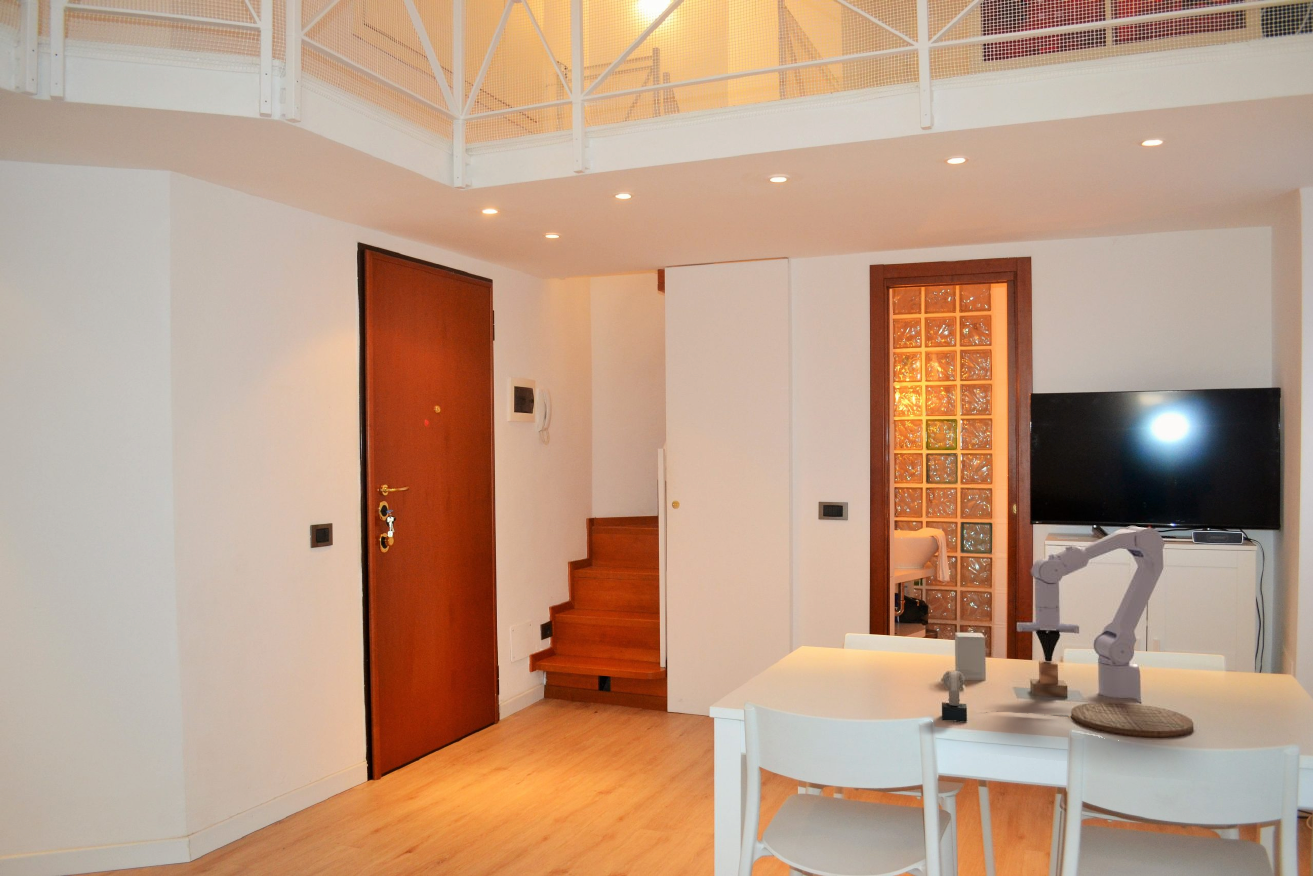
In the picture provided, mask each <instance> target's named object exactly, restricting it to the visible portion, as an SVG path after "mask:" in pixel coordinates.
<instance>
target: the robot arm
mask: <svg viewBox="0 0 1313 876" xmlns="http://www.w3.org/2000/svg"><path fill="white" fill-rule="evenodd" d="M1165 545H1166V543H1165V541H1164V539H1163V538H1162V536H1161V533H1160V532H1159V531H1157V529H1154V528H1152V527H1138V526H1136V525H1130V526H1126V527H1125V528H1121V529H1118V530H1116V531H1114V532H1112V533H1110V534H1108V535H1106V536H1103V537H1102V538H1100V539H1097V540H1096V541H1093V542H1092V543H1090V544H1087V545H1086V546H1084V547H1080V546H1077V545H1074V546H1073V545H1067V546H1065V547H1064V550H1061V551H1060V552H1057V553H1055V554H1053V553H1051V554H1049V555H1048V558H1047V559H1046V558H1039V559H1037V560H1036V561H1034V563H1033V565H1032V566H1031V569H1030V573H1031V576H1032V577H1033V578H1034V607H1035V608H1034V609H1035V616H1034V617H1035V622H1016V631H1017V632H1035V634H1036V636H1037V638H1038V640H1039V643H1040V645H1041V648H1042V650H1043V651H1042V652H1043V656H1044V661H1053V655H1054V651H1055V650H1056V649H1055V648H1056V646H1057V644H1058V643H1059V642H1058V641H1059V640H1060V637H1061V634H1060V633H1069V634H1071V633H1072V634H1079V635H1080V625H1078V624H1073V623H1070V624H1069V623H1061V621H1060V620H1061V619H1060V618H1061V617H1060V616H1061V615H1060V614H1061V613H1060V581H1061V580H1062V579H1063V577H1065V576H1067V575H1071V573H1075V572H1077V571H1079V570H1081V569H1083V568H1085V567H1087V566H1088V564H1089V561H1090V560H1091V559H1094V558H1097V557H1100V556H1102V555H1105V554H1107V553H1109V552H1113V551H1115V550H1118V549H1119V550H1120V549H1123V550H1127V551H1128V552H1129V554H1130V555H1132V557H1133V559H1134V562H1135V563H1136V565H1137V567H1136V570H1135V571H1134V575H1133V576H1132V579H1131V581H1130V583H1129V585H1128V587H1127V589H1126V591H1125V593H1124V595H1123V598H1122V600H1121V602H1120V604H1119V606H1118V609H1117V611H1116V612H1115V615H1114V617H1113V619H1112V620H1111V622H1110V623H1108V624H1107V625H1106V626H1105V627H1103V630H1102V632H1100V633H1099V634H1098V635H1097V636H1096V637H1095V638H1094V640H1093V649H1094V652H1095V653H1096V654H1097V655H1098V657H1097V667H1098V668H1097V675H1098V678H1097V679H1098V681H1097V682H1098V694H1099V695H1101V696H1104V697H1108V698H1116V699H1117V698H1120V699H1121V698H1122V699H1123V698H1126V699H1127V698H1128V699H1135V700H1136V701H1137V702H1138V703H1142V692H1141V691H1142V690H1141V688H1142V686H1141V671H1140V667H1139V665H1138V664H1137V663H1131V661H1132V660H1133V658H1134V655H1135V644H1136V642H1137V637H1136V633H1135V630H1136V628H1137V626H1138V624H1139V621H1140V620H1141V617H1142V615H1143V613H1144V611H1145V608H1146V607H1147V604H1148V602H1149V600H1150V598H1151V595H1152V594H1153V591H1154V589H1155V587H1156V586H1157V583H1158V581H1159V579H1160V576H1161V575H1162V572H1163V570H1164V567H1165V566H1164V547H1165Z"/></svg>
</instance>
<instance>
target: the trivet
mask: <svg viewBox="0 0 1313 876" xmlns="http://www.w3.org/2000/svg"><path fill="white" fill-rule="evenodd" d="M1071 719H1072V720H1073V721H1074V722H1075V724H1078V725H1079V726H1082V727H1084V728H1087V729H1090V730H1093V731H1097V732H1101V733H1106V734H1111V735H1116V736H1123V737H1132V738H1133V737H1134V738H1141V739H1142V738H1143V739H1170V738H1171V739H1173V738H1180V737H1186V736H1187V735H1188V736H1189V735H1191V734H1192V733H1193V731H1194V721H1193V720H1192V719H1191V718H1190V717H1188V716H1187V715H1186V714H1183V713H1179V712H1177V711H1174V710H1170V709H1166V708H1161V707H1156V706H1151V705H1144V704H1138V703H1127V702H1126V703H1125V702H1109V701H1107V702H1106V701H1105V702H1103V701H1102V702H1089V703H1082V704H1079V705H1076V706H1074V707H1073V708H1072V709H1071Z"/></svg>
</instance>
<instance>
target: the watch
mask: <svg viewBox="0 0 1313 876" xmlns="http://www.w3.org/2000/svg"><path fill="white" fill-rule="evenodd" d="M940 681H941V682H943V684H944V687H945V688H946V691H947V692H948V702H946V701H945V702H941V720H942V721H945V720H956V721H955V722H960V721H967V722H968V707H967V706H968V705H967V703H960V702H961V699H960V692H961V691H962V689H963V686H964V685H965V680H964V676H963V675H962V674H961V672H959V671H955V670H947V671H946V672H944V674H943V675H942V677H941V678H940Z"/></svg>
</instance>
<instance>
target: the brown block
mask: <svg viewBox="0 0 1313 876" xmlns="http://www.w3.org/2000/svg"><path fill="white" fill-rule="evenodd" d="M1029 679H1030V681H1029V682H1030V687H1029V688H1030V690H1031V692H1032V694H1033V696H1042V697H1061V698H1068V691H1067V690H1068V684H1067V683H1066V682H1065V680H1062V679H1061V680H1060V679H1058V684H1041V683H1040V681H1039V678H1029Z"/></svg>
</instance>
